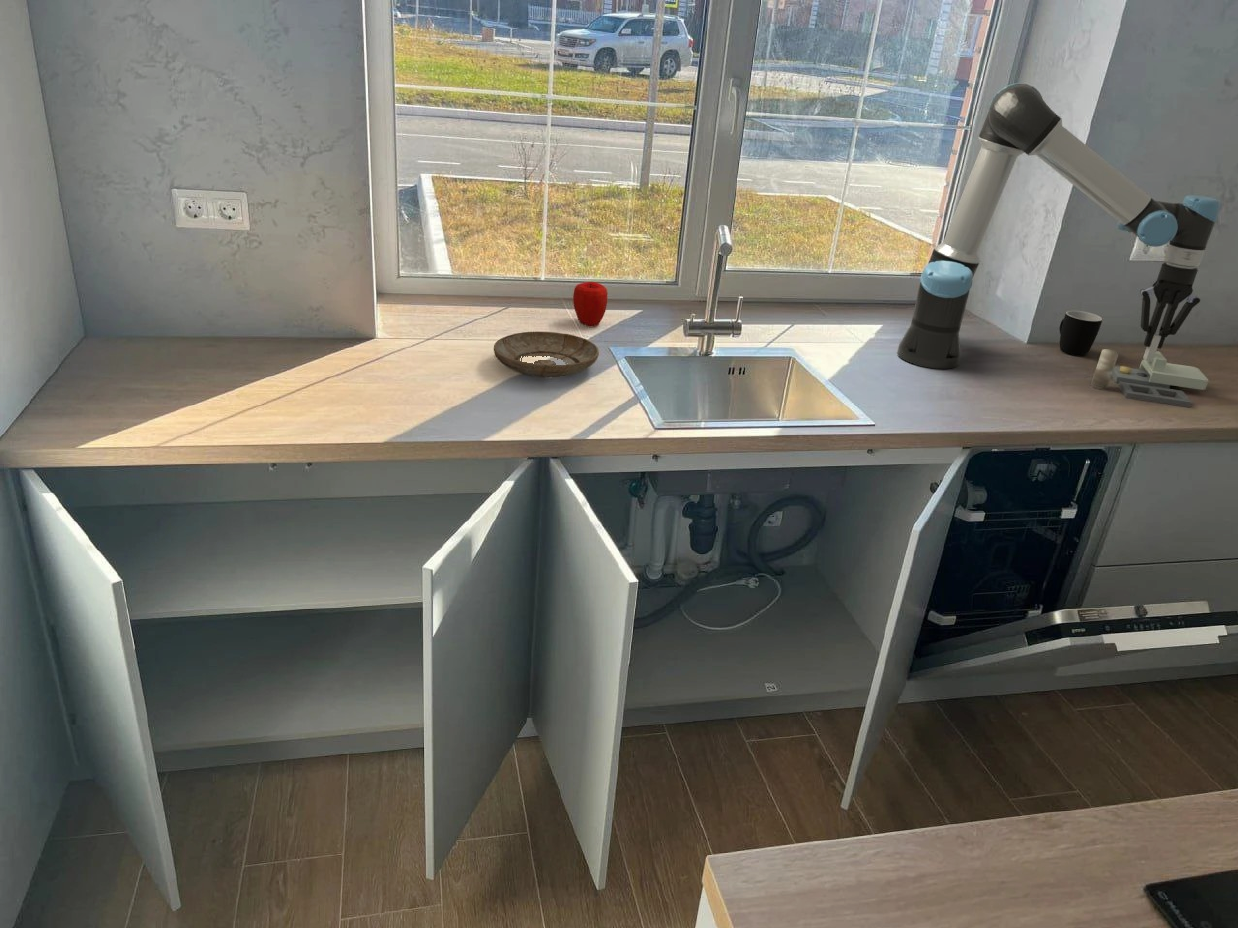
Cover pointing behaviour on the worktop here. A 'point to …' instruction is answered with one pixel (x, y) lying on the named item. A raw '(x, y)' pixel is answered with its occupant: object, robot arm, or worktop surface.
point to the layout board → (1134, 376)
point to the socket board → (1154, 394)
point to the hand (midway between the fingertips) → (1147, 359)
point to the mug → (1078, 332)
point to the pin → (1104, 369)
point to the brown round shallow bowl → (546, 353)
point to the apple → (590, 302)
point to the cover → (1173, 373)
